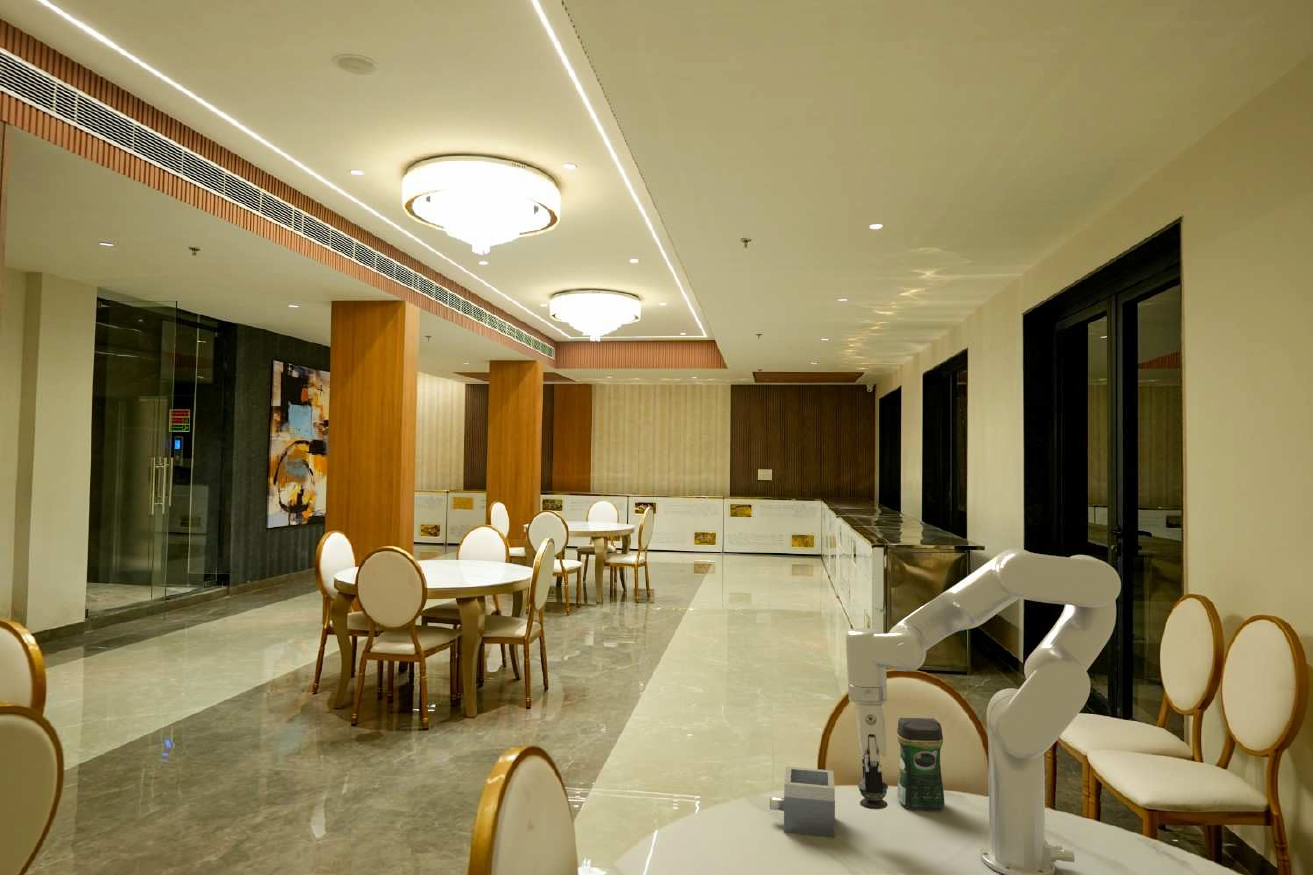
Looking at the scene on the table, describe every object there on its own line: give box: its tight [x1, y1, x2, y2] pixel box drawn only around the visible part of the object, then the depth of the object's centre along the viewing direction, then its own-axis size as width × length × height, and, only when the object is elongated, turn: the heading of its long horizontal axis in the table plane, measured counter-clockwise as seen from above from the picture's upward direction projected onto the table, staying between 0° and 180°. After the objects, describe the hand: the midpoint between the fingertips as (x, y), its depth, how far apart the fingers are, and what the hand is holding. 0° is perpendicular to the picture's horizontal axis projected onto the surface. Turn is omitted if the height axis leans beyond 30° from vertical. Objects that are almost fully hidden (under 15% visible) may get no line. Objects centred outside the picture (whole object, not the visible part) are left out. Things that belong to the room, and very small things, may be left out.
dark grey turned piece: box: [856, 751, 889, 811], centre depth 152 cm, size 6×6×12 cm
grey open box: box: [769, 766, 836, 839], centre depth 161 cm, size 13×12×10 cm
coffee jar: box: [896, 717, 945, 811], centre depth 171 cm, size 10×8×19 cm
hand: (872, 784), depth 152 cm, fingers closed on dark grey turned piece, 5 cm apart
